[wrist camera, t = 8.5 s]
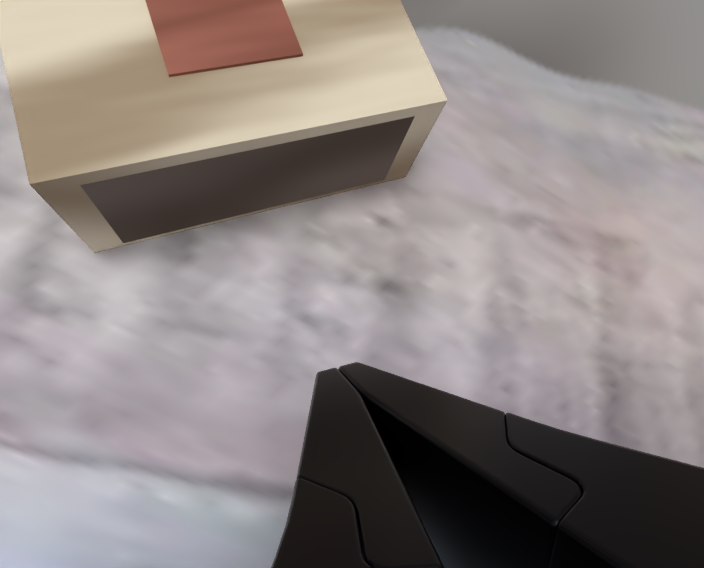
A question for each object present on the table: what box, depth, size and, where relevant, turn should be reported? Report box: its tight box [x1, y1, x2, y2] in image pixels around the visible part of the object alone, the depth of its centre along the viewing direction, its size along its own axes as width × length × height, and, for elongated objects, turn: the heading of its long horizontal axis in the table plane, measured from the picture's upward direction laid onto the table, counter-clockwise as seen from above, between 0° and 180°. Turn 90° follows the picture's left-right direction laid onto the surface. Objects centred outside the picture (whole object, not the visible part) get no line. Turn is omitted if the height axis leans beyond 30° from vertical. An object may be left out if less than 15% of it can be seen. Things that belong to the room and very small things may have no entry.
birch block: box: [0, 0, 447, 253], centre depth 16 cm, size 5×12×9 cm
